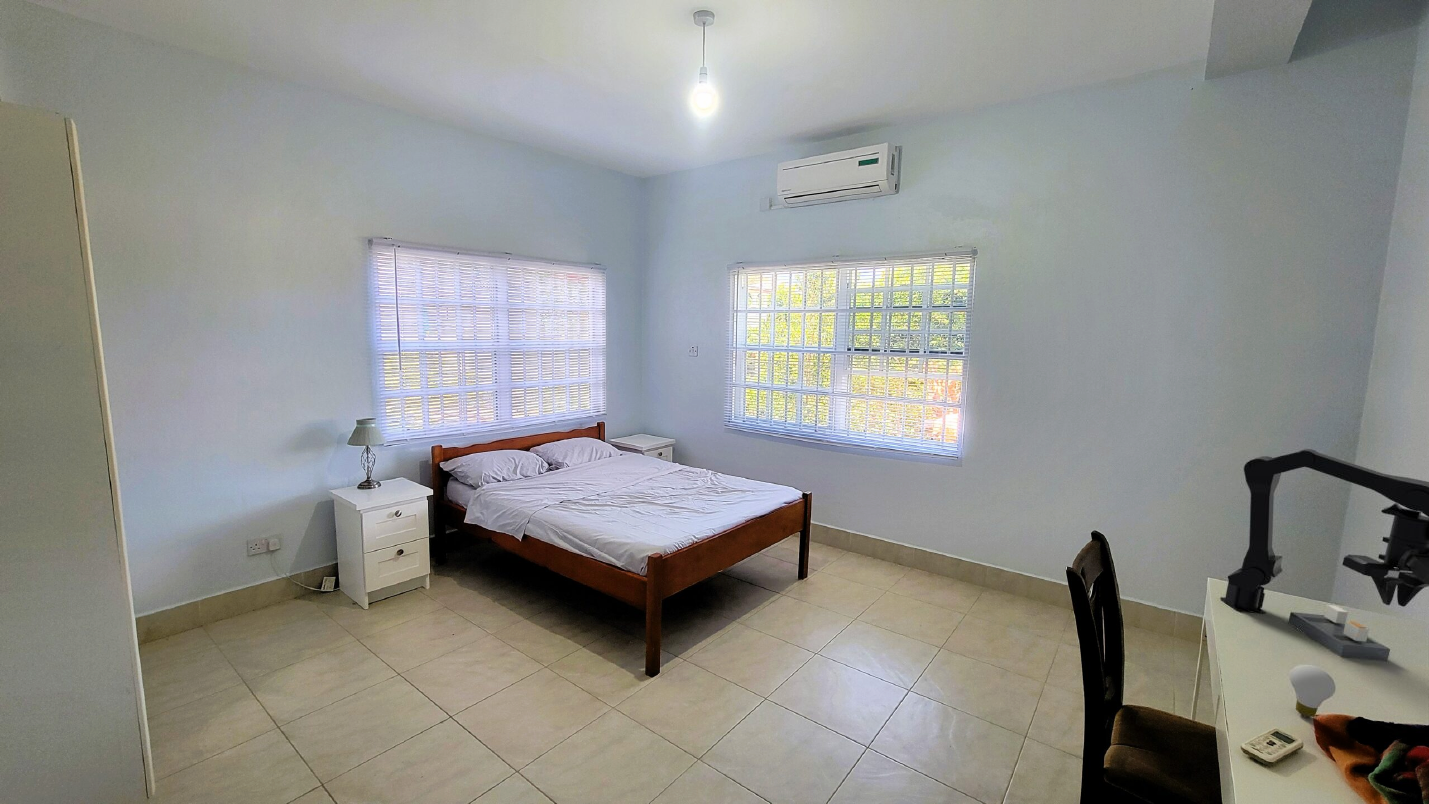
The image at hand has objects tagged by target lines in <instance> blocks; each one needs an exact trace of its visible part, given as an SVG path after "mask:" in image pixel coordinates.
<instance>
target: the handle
mask: <svg viewBox="0 0 1429 804" xmlns="http://www.w3.org/2000/svg"><path fill="white" fill-rule="evenodd" d="M1348 613H1349V612H1348V611H1346V610H1345V609H1344V608H1341V607H1340V606H1338V605H1331V604H1326V607H1325V612H1324V614H1323V615H1324V617H1326V618H1328V619H1330V620H1331V621H1333V622H1335V623H1341V624H1345V623H1346V621H1347V618H1348Z"/></svg>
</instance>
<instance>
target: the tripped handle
mask: <svg viewBox="0 0 1429 804" xmlns="http://www.w3.org/2000/svg"><path fill="white" fill-rule="evenodd" d="M1368 633H1369V628H1367V627H1365V625H1362V624H1360V623H1359V622H1356V621H1349V620H1346V622H1345V628H1344V632H1343V634H1345V635H1347V636H1348V637H1350V638H1352V639H1354V640H1355V641H1363V642H1366V639H1367V636H1368Z"/></svg>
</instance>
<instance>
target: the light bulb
mask: <svg viewBox="0 0 1429 804" xmlns="http://www.w3.org/2000/svg"><path fill="white" fill-rule="evenodd" d="M1289 681H1290V684H1291V686H1292V687H1293V690H1294V693H1295V699H1296V703H1295V710H1296V711H1297V712H1298V714H1299V715H1301V716H1302V717H1304V716H1305V717H1304V718H1314V717H1316V716H1317V711H1318V709H1319V707H1321V705H1322V703H1323V702H1325V701H1326V700H1329V699H1330V698H1332V697H1333V696H1334V694H1335V692H1336V684H1335V683H1336V682H1335V681H1334V679H1333V678H1332V676H1331V675H1330V674H1329V672H1327V671H1325V670H1324V669H1322V668H1321V667H1318V666H1316V665H1313V664H1312V665H1311V664H1298V665H1296V666H1295V667H1293V668H1292V669H1291V671H1290V673H1289Z"/></svg>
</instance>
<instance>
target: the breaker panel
mask: <svg viewBox="0 0 1429 804" xmlns="http://www.w3.org/2000/svg"><path fill="white" fill-rule="evenodd" d="M1324 615H1325V614H1318V613H1317V614H1316V613H1304V612H1295V611H1290V613H1289V618H1288V624H1289V623H1290V624H1291V625H1290V624H1289V625H1290V626H1292V625H1293V626H1294V627H1293V626H1292V627H1293V628H1295V627H1296V628H1295V629H1297V628H1298V629H1299V630H1298V629H1297V630H1298V631H1300V630H1301V631H1302V632H1301V631H1300V632H1301V633H1303V632H1304V633H1303V634H1305V636H1308V637H1309V638H1310V639H1313V641H1315V640H1316V641H1315V642H1317V641H1318V642H1319V643H1318V642H1317V643H1318V644H1320V645H1322V646H1323V645H1324V646H1323V647H1324V648H1326V647H1327V648H1326V649H1328V650H1329V649H1330V650H1329V651H1332V652H1333V653H1334V654H1336V655H1338V656H1339V657H1341V658H1351V659H1359V660H1366V661H1367V660H1368V661H1369V660H1370V661H1379V662H1388V661H1389V656H1390V652H1391V648H1389V647H1388V646H1387V645H1386V646H1385V645H1384V644H1382V643H1381V642H1379V641H1377V640H1375V639H1374V638H1372V637H1369V636H1368V635H1367V639H1366V642H1363V641H1355V640H1354V639H1352V638H1350V637H1348V636H1347V635H1345V634H1343V632H1344V628H1345V624H1341V623H1335V622H1333V621H1331V620H1330V619H1328V618H1326V617H1324Z"/></svg>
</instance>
